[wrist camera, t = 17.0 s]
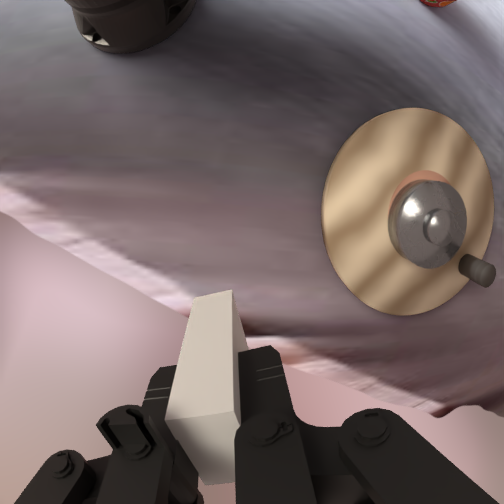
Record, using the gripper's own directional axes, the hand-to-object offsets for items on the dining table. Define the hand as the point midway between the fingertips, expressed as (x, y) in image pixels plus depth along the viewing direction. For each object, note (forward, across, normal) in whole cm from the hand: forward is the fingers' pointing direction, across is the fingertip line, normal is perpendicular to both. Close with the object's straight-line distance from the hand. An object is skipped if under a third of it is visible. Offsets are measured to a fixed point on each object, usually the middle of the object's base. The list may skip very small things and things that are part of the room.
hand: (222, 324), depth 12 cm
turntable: (+23, +23, -4) cm, 33 cm away
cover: (+21, +22, -4) cm, 31 cm away
